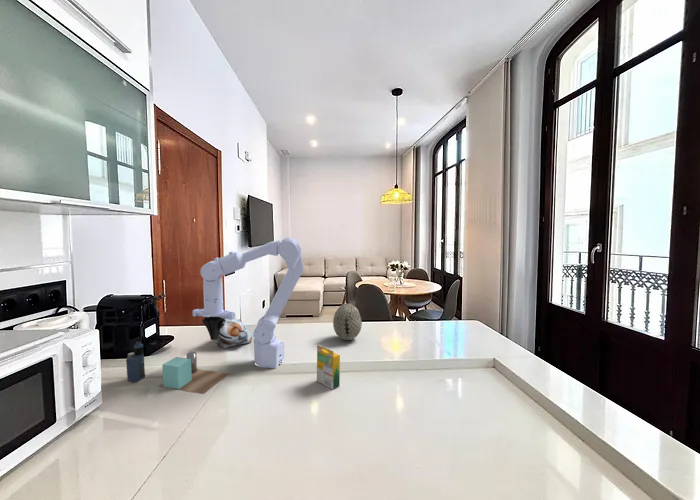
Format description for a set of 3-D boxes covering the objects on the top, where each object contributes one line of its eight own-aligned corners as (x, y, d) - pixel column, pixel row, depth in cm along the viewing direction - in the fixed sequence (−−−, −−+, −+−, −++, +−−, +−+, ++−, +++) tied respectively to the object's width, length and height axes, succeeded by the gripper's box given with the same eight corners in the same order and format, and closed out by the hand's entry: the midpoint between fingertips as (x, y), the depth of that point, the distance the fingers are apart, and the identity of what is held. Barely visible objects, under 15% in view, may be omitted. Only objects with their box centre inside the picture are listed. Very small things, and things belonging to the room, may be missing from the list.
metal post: (198, 370, 102) (198, 352, 102) (192, 374, 100) (192, 355, 99) (191, 369, 103) (190, 351, 102) (185, 373, 100) (184, 354, 100)
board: (229, 376, 101) (229, 373, 100) (203, 397, 89) (203, 393, 89) (188, 370, 104) (188, 367, 104) (158, 389, 92) (158, 386, 92)
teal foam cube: (191, 380, 96) (191, 359, 95) (178, 389, 91) (177, 366, 90) (177, 377, 97) (176, 356, 97) (163, 386, 92) (162, 364, 92)
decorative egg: (361, 345, 127) (362, 308, 125) (332, 344, 127) (332, 307, 126) (361, 334, 139) (361, 300, 137) (333, 333, 139) (334, 299, 137)
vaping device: (140, 382, 96) (138, 344, 95) (125, 380, 97) (123, 342, 96) (147, 378, 99) (145, 340, 97) (132, 376, 100) (130, 339, 98)
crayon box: (340, 386, 96) (340, 348, 95) (332, 390, 94) (333, 351, 93) (323, 377, 101) (323, 342, 100) (316, 381, 99) (316, 344, 98)
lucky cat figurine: (259, 339, 131) (258, 315, 124) (239, 361, 122) (236, 336, 114) (229, 324, 135) (227, 300, 128) (208, 344, 126) (203, 320, 118)
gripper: (185, 299, 102) (186, 341, 103) (225, 303, 98) (226, 345, 100) (200, 294, 109) (201, 333, 110) (238, 297, 105) (239, 337, 107)
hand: (214, 338), depth 105 cm, fingers closed
